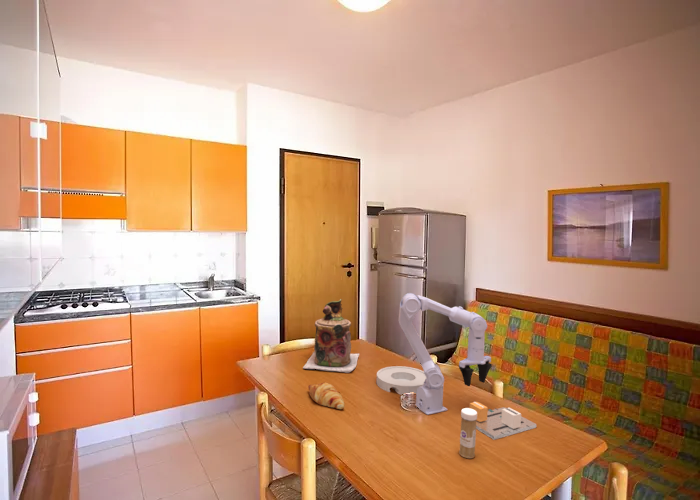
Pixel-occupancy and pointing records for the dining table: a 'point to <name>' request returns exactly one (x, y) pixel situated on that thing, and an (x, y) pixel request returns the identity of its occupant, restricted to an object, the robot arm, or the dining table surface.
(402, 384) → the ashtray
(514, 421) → the fader cap
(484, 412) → the cap
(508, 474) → the dining table surface
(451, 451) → the dining table surface
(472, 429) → the sprinkles bottle
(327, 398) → the croissant
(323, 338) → the cookie jar
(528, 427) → the console
